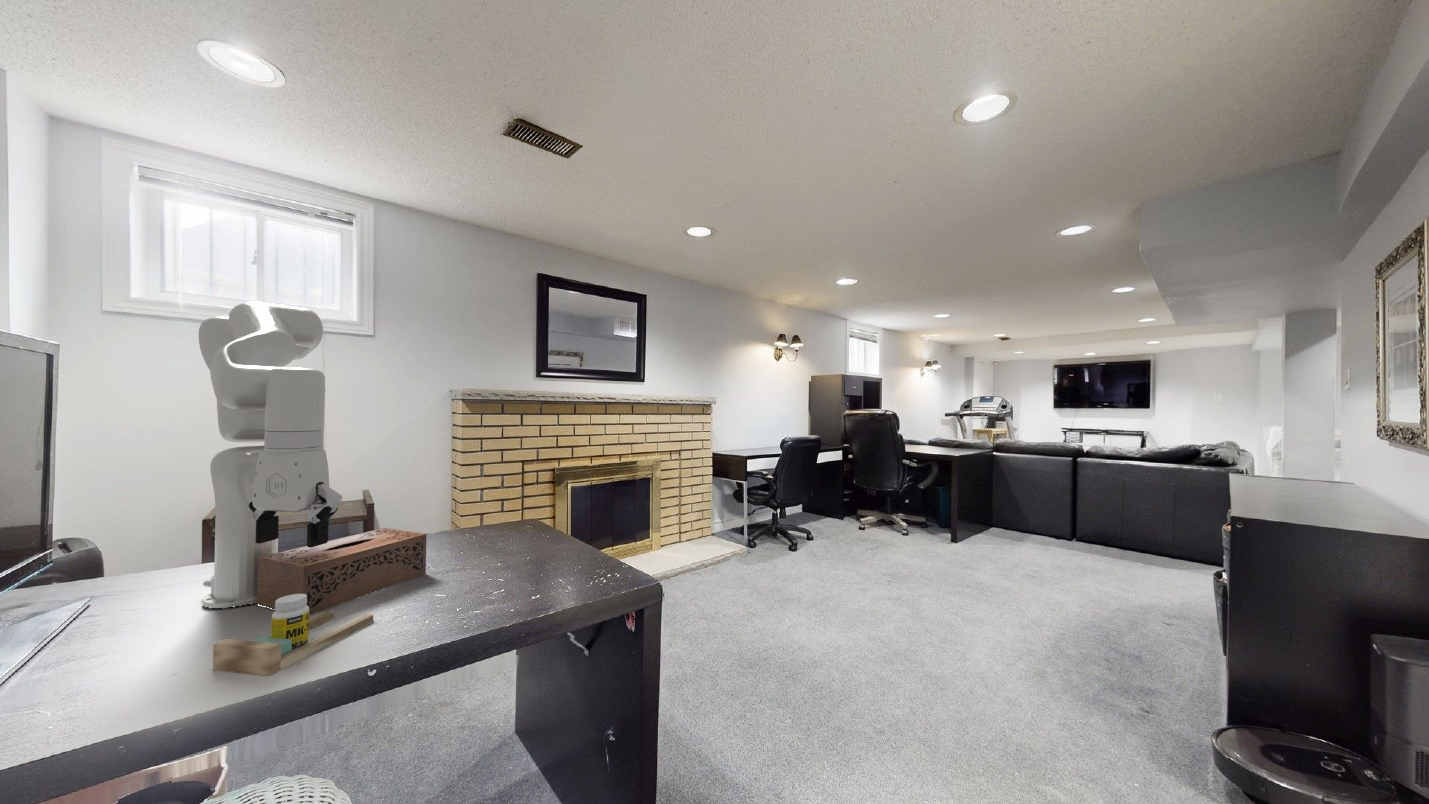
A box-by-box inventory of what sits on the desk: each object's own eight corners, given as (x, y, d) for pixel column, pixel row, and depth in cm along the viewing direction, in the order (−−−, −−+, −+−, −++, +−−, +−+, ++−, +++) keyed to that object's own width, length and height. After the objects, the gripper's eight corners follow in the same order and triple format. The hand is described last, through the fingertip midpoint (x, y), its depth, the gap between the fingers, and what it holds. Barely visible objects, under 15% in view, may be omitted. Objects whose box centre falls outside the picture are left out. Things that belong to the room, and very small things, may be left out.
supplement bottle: (285, 657, 77) (286, 605, 77) (262, 653, 78) (263, 602, 78) (315, 643, 82) (317, 593, 82) (293, 640, 83) (294, 591, 83)
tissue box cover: (384, 567, 121) (385, 527, 121) (425, 575, 116) (426, 533, 116) (256, 607, 97) (258, 557, 97) (302, 619, 92) (303, 566, 92)
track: (212, 669, 73) (213, 643, 73) (326, 617, 92) (327, 596, 92) (269, 675, 72) (270, 649, 72) (373, 621, 90) (373, 599, 90)
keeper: (239, 663, 75) (240, 646, 75) (260, 654, 78) (260, 636, 78) (271, 667, 74) (272, 649, 74) (291, 657, 77) (291, 639, 77)
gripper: (225, 441, 78) (222, 546, 78) (318, 445, 75) (316, 553, 75) (273, 437, 85) (271, 534, 85) (360, 441, 83) (357, 540, 83)
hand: (292, 543), depth 80 cm, fingers open, 9 cm apart
